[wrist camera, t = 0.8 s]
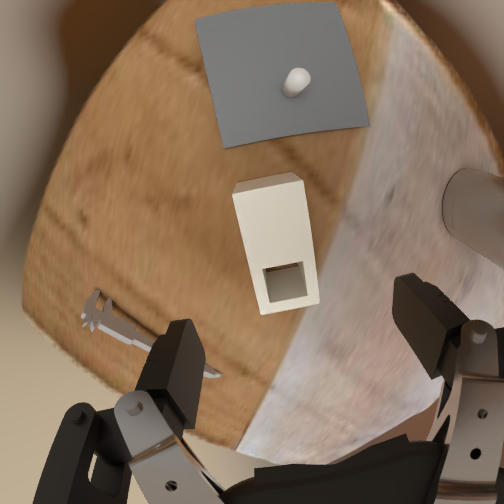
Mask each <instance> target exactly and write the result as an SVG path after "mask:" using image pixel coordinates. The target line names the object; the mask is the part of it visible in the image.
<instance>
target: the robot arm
mask: <svg viewBox="0 0 504 504" xmlns="http://www.w3.org/2000/svg"><path fill="white" fill-rule="evenodd" d="M443 218H444V223H445V225H446V228H447V230H448V231H449V232H450V234H451V235H453V236H454V237H456V238H457V239H459V240H460V241H462V242H463V243H465V244H467V245H468V246H470V247H471V248H473V249H474V250H476V251H477V252H479V253H480V254H482V255H483V256H485V257H486V258H487V259H489V260H490V261H492V262H493V263H495V264H496V265H497V266H499V267H500V268H502V269H503V270H504V178H502V177H499V176H495V175H492V174H489V173H485V172H482V171H478V170H474V169H470V168H467V169H462V170H460V171H459V172H457V173H456V174H455V175H454V176H453V177H452V179H451V180H450V182H449V184H448V186H447V188H446V191H445V194H444V199H443ZM392 314H393V319H394V322H395V324H396V325H397V327H398V328H399V330H400V331H401V333H402V334H403V336H404V337H405V339H406V340H407V342H408V343H409V345H410V346H411V348H412V349H413V351H414V353H415V354H416V356H417V357H418V359H419V360H420V362H421V364H422V365H423V367H424V368H425V370H426V372H427V373H428V375H429V377H430V378H431V380H432V379H434V378H436V377H439V376H441V375H442V376H443V378H444V381H443V383H442V387H441V393H440V397H439V402H438V407H437V411H436V415H435V419H434V422H433V426H432V428H431V431H430V433H429V435H428V438H427V440H426V441H421V440H419V441H409V440H408V438H407V435H406V434H403V435H400V436H398V437H395V438H392V439H389V440H387V441H384V442H381V443H378V444H375V445H372V446H370V447H368V448H366V449H364V450H363V451H361V452H359V453H357V454H356V455H353V456H351V457H350V458H347V459H345V460H343V461H342V462H339V463H337V464H333V465H308V464H288V465H281V466H274V467H263V468H255V469H254V473H255V474H254V475H255V476H254V477H252V478H249V479H246V480H244V481H241V482H239V483H237V484H235V485H233V486H231V487H230V488H228V489H227V490H225V489H224V488H223V487H222V486H221V484H220V483H219V482H218V481H217V480H216V479H215V478H214V477H213V476H212V475H211V474H210V472H209V471H208V470H207V469H206V468H205V467H204V465H203V464H202V463H201V461H200V460H199V459H198V457H197V456H196V455H195V453H194V452H193V451H192V449H191V448H190V447H189V445H188V444H187V442H186V441H185V440H184V438H183V437H182V436H183V430H184V429H195V423H196V416H197V410H198V404H199V398H200V391H201V385H202V379H203V373H204V368H205V352H204V348H203V346H202V343H201V341H200V339H199V336H198V334H197V331H196V329H195V326H194V324H193V322H192V320H191V319H182V320H175V321H171V322H170V324H169V327H168V329H167V332H166V334H164V335H161V336H160V337H159V338H158V339H157V340H156V341H155V342H154V343H153V345H152V348H151V350H150V352H149V355H148V357H147V360H146V363H145V365H144V367H143V370H142V372H141V375H140V378H139V380H138V383H137V385H136V388H135V391H131V392H128V393H126V394H125V395H123V396H122V397H121V398H120V399H119V400H118V401H117V403H116V404H115V407H114V408H111V409H106V410H102V411H97V412H96V410H95V409H94V408H93V407H92V406H91V405H90V404H88V403H84V402H83V403H77V404H75V405H73V406H72V407H71V408H69V409H68V411H67V412H66V413H65V415H64V418H63V420H62V422H61V425H60V427H59V430H58V432H57V434H56V437H55V439H54V442H53V444H52V447H51V449H50V452H49V455H48V457H47V460H46V463H45V466H44V469H43V472H42V475H41V478H40V481H39V484H38V487H37V490H36V493H35V497H34V501H33V504H127V498H128V491H129V486H130V480H131V475H132V473H133V475H134V477H135V479H136V481H137V483H138V485H139V487H140V489H141V491H142V492H143V494H144V496H145V498H146V500H147V501H148V503H149V504H504V468H501V467H499V464H500V459H501V453H502V446H503V438H504V327H503V328H497V329H494V328H493V326H492V325H490V324H489V323H487V322H485V321H482V320H470V319H469V318H468V317H467V316H466V315H465V314H464V313H463V312H462V311H461V310H460V309H459V308H458V307H457V306H456V305H455V304H454V303H453V302H452V301H450V299H449V298H448V297H447V296H446V295H444V293H443V292H442V291H441V290H440V289H439V288H438V287H436V286H434V285H432V284H430V283H428V282H423V281H422V280H421V279H420V278H419V277H418V276H417V275H416V274H414V273H409V274H406V275H402V276H398V277H396V278H395V280H394V292H393V306H392ZM93 454H95V455H96V456H97V459H96V463H95V466H94V470H93V474H92V478H91V482H90V481H89V478H88V471H89V468H90V464H91V461H92V457H93Z"/></svg>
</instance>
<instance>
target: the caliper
mask: <svg viewBox="0 0 504 504" xmlns="http://www.w3.org/2000/svg"><path fill="white" fill-rule="evenodd" d="M100 291H101V290H96V291H95V292H94V293H93V294H92V295H91V296H90V298H89V299H88V300H87V301H86V303H85V305H84V309H83V312H82V315H81V318H83V319H84V320H85V321H84V324H83V327H85V326H86V325H87V324H88V323H89V322H90V329H91V332H93V330H94V328H95V325H96V324H97V325H98V328H99V329H100V330H102V331H104V332H106V333H107V334H109V335H111V336H113V337H115V338H117V339H119V340H121V341H123V342H125V343H127V344H129V345H130V344H131V343H132V344H134V345H136V346H138V347H140V348H142V349H144V350H146V351H148V352H150V350H151V348H152V345H153V343H154V342H155V340H153V339H151V338H149V337H147V336H145V335H143V334H141V333H140V332H138V331H136V325H134V324H131V323H129V322H128V321H126V320H125V319H121V318H116V317H115V316H113V313H112V299H111V298H110V297H108V298H107V300H106V302H105V304H104V307H103V310H102V311H100V310H98V309H97V308H95V306H96V303H97V300H98V296H99V294H100ZM222 375H223V374H222V373H221V372H218V371H215V369H214V368H212V367H210V366H209V365H207V364H205V368H204V373H203V376H205V377H208V378H213V377H215V378H219V377H220V376H222Z"/></svg>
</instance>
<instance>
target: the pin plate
mask: <svg viewBox="0 0 504 504" xmlns="http://www.w3.org/2000/svg"><path fill="white" fill-rule="evenodd" d="M194 21H195V25H196V30H197V34H198V38H199V43H200V47H201V52H202V56H203V60H204V65H205V69H206V74H207V78H208V82H209V87H210V91H211V95H212V100H213V104H214V109H215V113H216V117H217V122H218V126H219V130H220V134H221V139H222V143H223V147H224V149H225V148H229V147H234V146H238V145H243V144H248V143H252V142H257V141H263V140H268V139H273V138H279V137H285V136H291V135H297V134H304V133H310V132H318V131H326V130H334V129H343V128H353V127H365V126H370V123H369V118H368V113H367V108H366V103H365V98H364V94H363V89H362V85H361V81H360V77H359V73H358V69H357V65H356V62H355V58H354V55H353V51H352V48H351V45H350V41H349V38H348V35H347V32H346V29H345V26H344V23H343V20H342V18H341V15H340V12H339V9H338V7H337V4H336V3H335V2H307V3H288V4H276V5H266V6H259V7H251V8H245V9H239V10H234V11H228V12H224V13H219V14H214V15H210V16H206V17H202V18H198V19H195V20H194Z"/></svg>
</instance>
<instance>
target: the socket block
mask: <svg viewBox="0 0 504 504" xmlns="http://www.w3.org/2000/svg"><path fill="white" fill-rule="evenodd" d="M232 197H233V201H234V205H235V210H236V214H237V218H238V222H239V226H240V231H241V235H242V239H243V243H244V247H245V251H246V256H247V260H248V264H249V268H250V272H251V276H252V280H253V285H254V289H255V293H256V297H257V301H258V305H259V309H260V313H261V315H264V314H269V313H275V312H280V311H285V310H290V309H296V308H301V307H305V306H310V305H315V304H320V300H319V290H318V281H317V272H316V264H315V256H314V248H313V241H312V234H311V227H310V220H309V213H308V207H307V201H306V195H305V189H304V183H303V180H302V179H301V178H299V177H298V176H297V175H295V174H294V173H293V172H288V173H283V174H277V175H272V176H267V177H262V178H257V179H252V180H247V181H243V182H238V183H236V185H235V187H234V190H233V193H232ZM296 262H297V265H298V266H296V267H291V268H286V269H281V270H276V271H271V272H266V268H270V267H275V266H280V265H285V264H291V263H296Z"/></svg>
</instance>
